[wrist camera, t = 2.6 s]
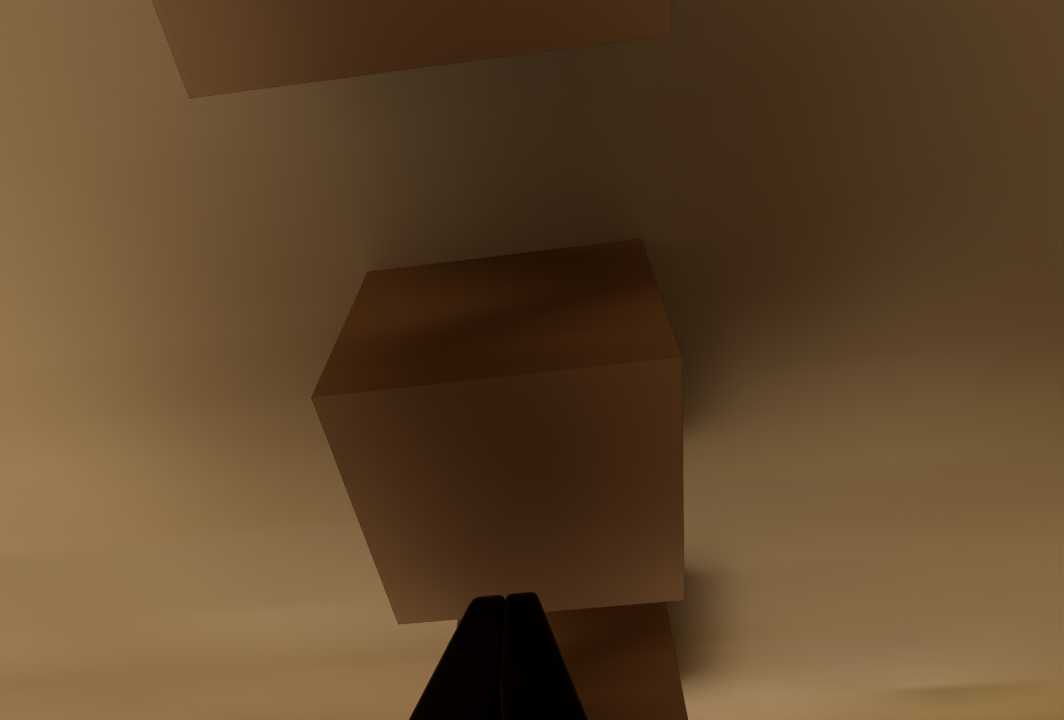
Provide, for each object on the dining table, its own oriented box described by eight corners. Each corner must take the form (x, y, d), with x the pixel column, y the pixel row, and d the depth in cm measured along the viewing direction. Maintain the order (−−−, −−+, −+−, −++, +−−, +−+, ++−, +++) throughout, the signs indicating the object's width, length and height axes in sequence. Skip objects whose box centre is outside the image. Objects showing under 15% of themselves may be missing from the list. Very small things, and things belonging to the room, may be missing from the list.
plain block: (640, 236, 12) (681, 356, 9) (649, 446, 15) (684, 599, 12) (369, 268, 13) (311, 398, 9) (426, 468, 15) (398, 624, 12)
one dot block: (657, 564, 17) (690, 733, 14) (662, 678, 20) (690, 842, 16) (461, 581, 17) (444, 750, 14) (492, 691, 20) (485, 855, 17)
